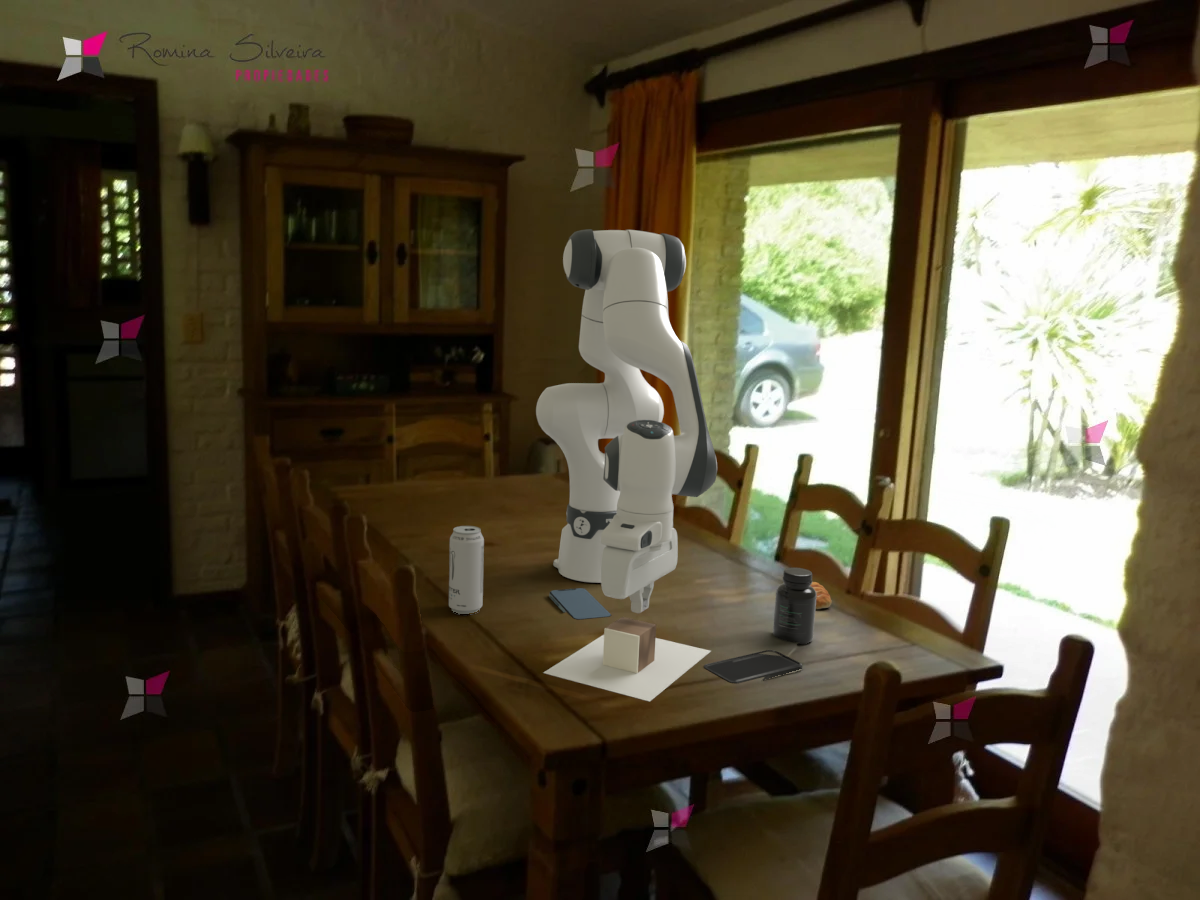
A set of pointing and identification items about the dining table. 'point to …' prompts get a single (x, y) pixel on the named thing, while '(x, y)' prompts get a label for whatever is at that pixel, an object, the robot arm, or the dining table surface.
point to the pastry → (821, 596)
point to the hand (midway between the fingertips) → (639, 610)
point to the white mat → (641, 685)
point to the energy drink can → (466, 569)
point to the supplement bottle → (795, 607)
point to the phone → (753, 667)
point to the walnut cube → (629, 644)
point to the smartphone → (578, 603)
